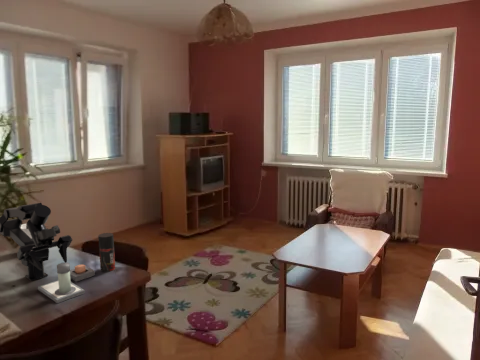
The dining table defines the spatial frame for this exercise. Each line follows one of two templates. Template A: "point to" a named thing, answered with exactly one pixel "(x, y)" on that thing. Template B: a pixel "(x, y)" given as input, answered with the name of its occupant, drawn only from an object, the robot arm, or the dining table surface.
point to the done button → (80, 269)
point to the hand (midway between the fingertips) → (54, 265)
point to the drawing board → (55, 295)
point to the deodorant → (106, 252)
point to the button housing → (81, 276)
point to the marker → (64, 277)
